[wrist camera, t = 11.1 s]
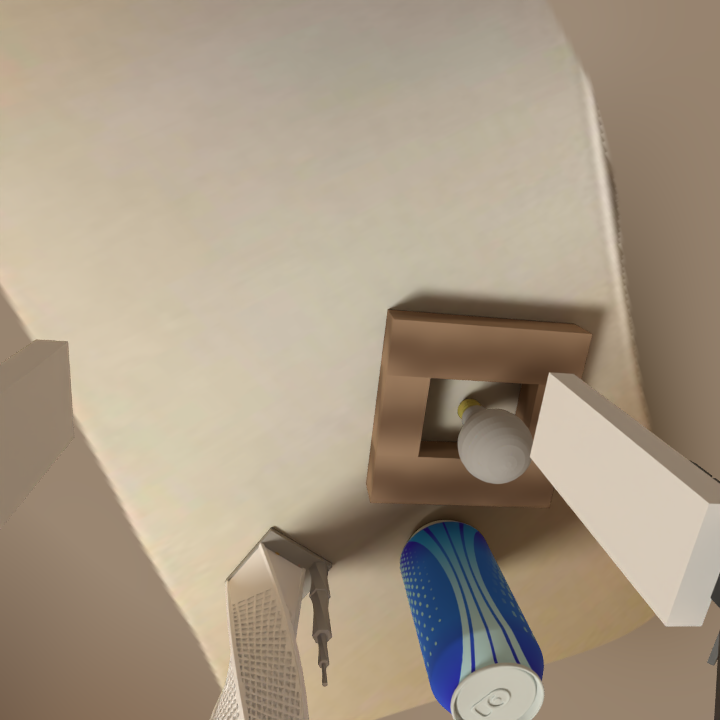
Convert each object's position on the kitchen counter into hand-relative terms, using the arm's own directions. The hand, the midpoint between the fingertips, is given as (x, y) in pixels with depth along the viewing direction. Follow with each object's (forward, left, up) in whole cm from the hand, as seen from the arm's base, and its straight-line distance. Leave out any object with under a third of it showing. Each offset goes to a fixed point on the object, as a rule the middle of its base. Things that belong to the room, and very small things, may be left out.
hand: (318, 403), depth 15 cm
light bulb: (+12, +15, -29) cm, 35 cm away
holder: (+12, +15, -29) cm, 35 cm away
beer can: (+27, +15, -29) cm, 42 cm away
